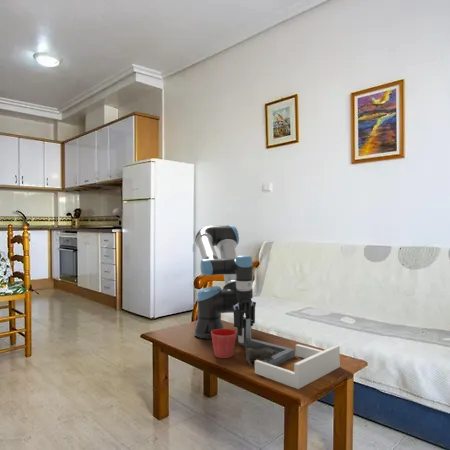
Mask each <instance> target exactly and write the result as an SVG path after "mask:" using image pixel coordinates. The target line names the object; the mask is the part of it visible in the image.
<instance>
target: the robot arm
mask: <svg viewBox="0 0 450 450" xmlns="http://www.w3.org/2000/svg"><path fill="white" fill-rule="evenodd" d="M194 242H195V246H197V248H198V250H199V252H200V255H201V260H200V273H201V274H202V275H203V276H217V275H218V276H219V275H221V276H222V275H223V279H224V286H223V287H222V288H221V286H219V285H218V286H217V285H216V286H208V287H204V288H203V287H202V288H200V289H199V290H198V292H197V297H196V298H197V299H196V301H197V320H196V324H195V328H194V331H193V332H194V333H193V336H194V335H195V336H197V337H200V338H199V339H201V338H206V339H205V340H212V339H211V338H212V336H211V332H212V331H213V330H216V329H225V328H224V324H223V320H222V314H229V313H231V314H232V313H233V327H234V328H237V336H238V337H237V338H238V340H237V341H238V343H240V342H241V343H244V328H242V327H243V319H244V317H246V318H250V335H251V336H252V330H253V329H252V327H254V324H256V305H257V302H256V301H253V300H252V299H253V297H254V296H253V295H254V293H253V265H254V264H253V257H252V256H251V255H247V254H246V255H237V252H236V248H237V247H238V245H239V242H240V237H239V231H238V228H237V227H236V226H234V225H229V224H227V225H206V226H203V227H202V228H201V229H199V230H198V231H197V233H196V235H195V238H194ZM215 247H216V249H217V251H218V252H219V253H220V258H219V257H218V255H217V252H216V249H215ZM195 336H194V337H195ZM197 337H196V338H197Z"/></svg>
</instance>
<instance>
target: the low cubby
mask: <svg viewBox="0 0 450 450" xmlns="http://www.w3.org/2000/svg"><path fill="white" fill-rule="evenodd" d="M340 349H341V347H340V345H337V344H335V345H332V346H331V347H329V348H327V349H324V350H321V349H318V348H314V347H310V346H307V345H304V344H303V345H302V344H300V343H299V344H295V357H299V358H301V359H302V358H303V359H302V360H300V361H297V362H294V363H293V365H294V367H293V368H294V369H293V371H292V370H289V369H286V368H283V367H280V366H278V365H277V366H274V365H271V364H268V363H265V362H262V361H259V360H260V359H256V361H254V374H256V375H258V376H262V377H264V378H267V379H269V380H272V381H275V382H278V383H279V384H282V385H285V386H288V387H291V388H294V389H297V390H300V389H301V388H303V387H305V386H307V385H308V384H310V383H313V382H315V381H316V380H318V379H320V378H322V377H324V376H326V375H327V374H330V373H332V372H333V371H336V370H337V369H339V368H340V363H341V362H340V361H341V359H340V358H341V356H340V352H341V351H340Z"/></svg>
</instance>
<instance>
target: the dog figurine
mask: <svg viewBox="0 0 450 450" xmlns="http://www.w3.org/2000/svg"><path fill="white" fill-rule="evenodd" d="M247 346H250V347H247ZM244 348H245V355H246V358H245V360H246V362H247V363H248V365H249V366H250V367H252V366H253V364H252V363H251V362H252V361H253V362H255V361H256V360H259V361H263V360H265V359H267V358H269V357H271V356H273V355H274V353H273V352H274V350H273V349H271V348H261V349H255V348H252V346H251V345H246V346H244Z"/></svg>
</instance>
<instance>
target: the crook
mask: <svg viewBox="0 0 450 450" xmlns="http://www.w3.org/2000/svg"><path fill="white" fill-rule="evenodd" d="M242 328H244V343H241V342H239V345H240V346H243V347H245V346H246V345H251V346H252V349H261V348H271V349H273V350H274V352H273V354H272V355H273V356H271V357H269V358H268V357H267V358H266V359H265V360H263V361H262V362H265V363H268V364H271V365H274V366H277V367H278V366H279V365H281V364H284V363H285V362H288V360H292V359H293V358H295V357H296V348H295V349H294V348H290V347H286V346H283V345H278V344H275V343H270V342H267V341H263V340H259V339H255V338H252V334H251V335H250V318H246V316H244V319H243V327H242ZM249 347H250V346H247V348H249Z"/></svg>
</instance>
